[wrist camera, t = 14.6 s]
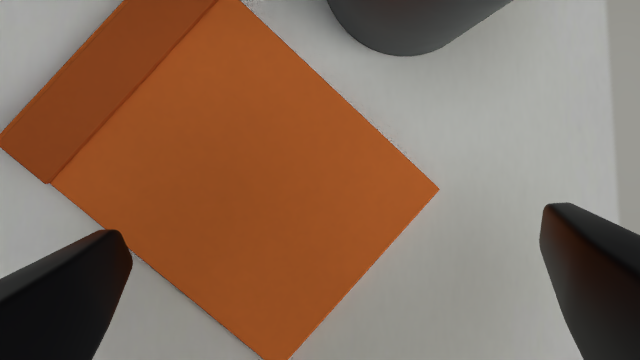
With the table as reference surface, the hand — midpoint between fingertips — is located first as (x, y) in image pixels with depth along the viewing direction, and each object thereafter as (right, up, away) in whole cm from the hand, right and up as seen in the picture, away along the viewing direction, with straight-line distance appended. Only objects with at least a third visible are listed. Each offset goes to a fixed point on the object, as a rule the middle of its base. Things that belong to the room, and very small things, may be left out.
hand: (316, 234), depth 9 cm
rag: (-4, +2, +8) cm, 9 cm away
